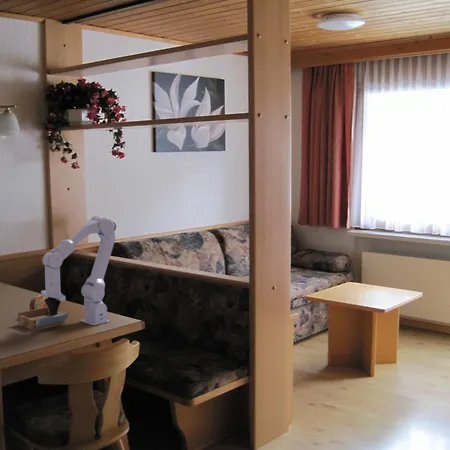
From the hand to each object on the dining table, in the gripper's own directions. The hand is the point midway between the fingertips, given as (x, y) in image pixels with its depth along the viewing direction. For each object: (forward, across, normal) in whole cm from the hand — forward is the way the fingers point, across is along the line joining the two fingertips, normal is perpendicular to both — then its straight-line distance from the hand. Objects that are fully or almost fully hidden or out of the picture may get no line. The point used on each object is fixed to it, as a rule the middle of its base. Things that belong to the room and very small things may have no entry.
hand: (53, 315), depth 249 cm
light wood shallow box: (+5, -9, 0) cm, 11 cm away
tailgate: (+3, -3, 0) cm, 4 cm away
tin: (+6, -23, +8) cm, 25 cm away
